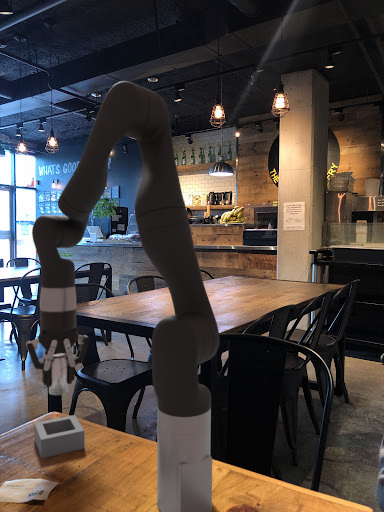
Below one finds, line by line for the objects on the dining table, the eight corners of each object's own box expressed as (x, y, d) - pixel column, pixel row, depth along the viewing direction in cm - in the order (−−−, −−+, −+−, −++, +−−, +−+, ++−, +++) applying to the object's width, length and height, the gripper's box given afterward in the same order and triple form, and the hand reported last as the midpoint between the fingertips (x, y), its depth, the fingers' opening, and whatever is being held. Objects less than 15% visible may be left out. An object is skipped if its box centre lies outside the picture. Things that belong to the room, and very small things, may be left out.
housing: (84, 448, 92) (84, 430, 92) (41, 458, 88) (41, 439, 88) (74, 431, 100) (74, 415, 100) (34, 440, 96) (34, 422, 95)
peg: (69, 393, 93) (69, 357, 92) (50, 396, 91) (50, 359, 90) (65, 387, 96) (65, 352, 96) (47, 390, 94) (47, 354, 94)
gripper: (25, 312, 86) (26, 395, 87) (95, 307, 93) (95, 384, 93) (21, 306, 92) (22, 384, 93) (86, 302, 99) (86, 374, 100)
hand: (58, 384), depth 93 cm, fingers closed on peg, 4 cm apart
